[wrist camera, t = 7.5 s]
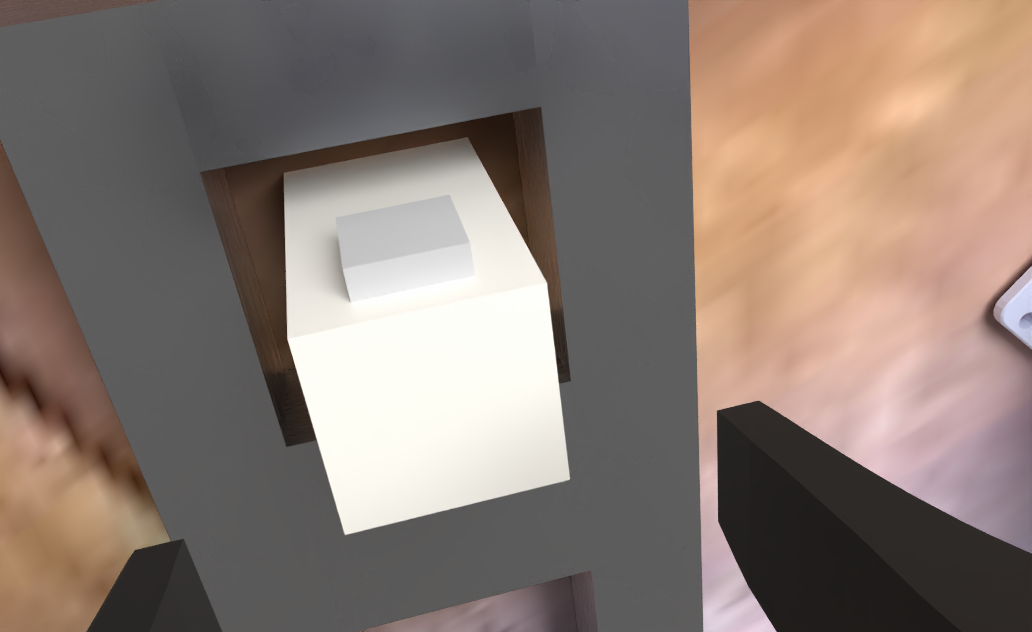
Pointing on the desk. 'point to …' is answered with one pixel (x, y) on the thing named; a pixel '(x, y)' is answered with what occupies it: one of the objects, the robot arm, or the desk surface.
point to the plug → (419, 335)
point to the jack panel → (245, 322)
